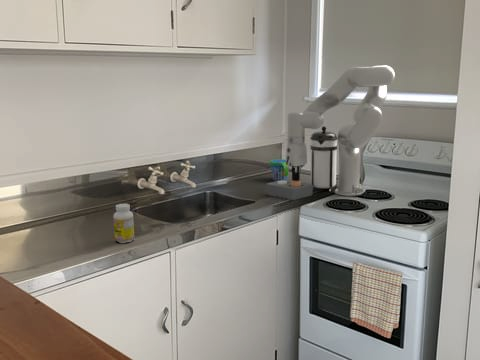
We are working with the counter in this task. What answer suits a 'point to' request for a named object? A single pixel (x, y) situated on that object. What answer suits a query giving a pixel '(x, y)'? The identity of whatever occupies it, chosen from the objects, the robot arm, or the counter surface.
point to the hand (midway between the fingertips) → (295, 180)
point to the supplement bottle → (123, 222)
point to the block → (289, 190)
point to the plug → (282, 182)
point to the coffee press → (323, 159)
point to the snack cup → (279, 169)
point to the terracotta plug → (295, 183)
